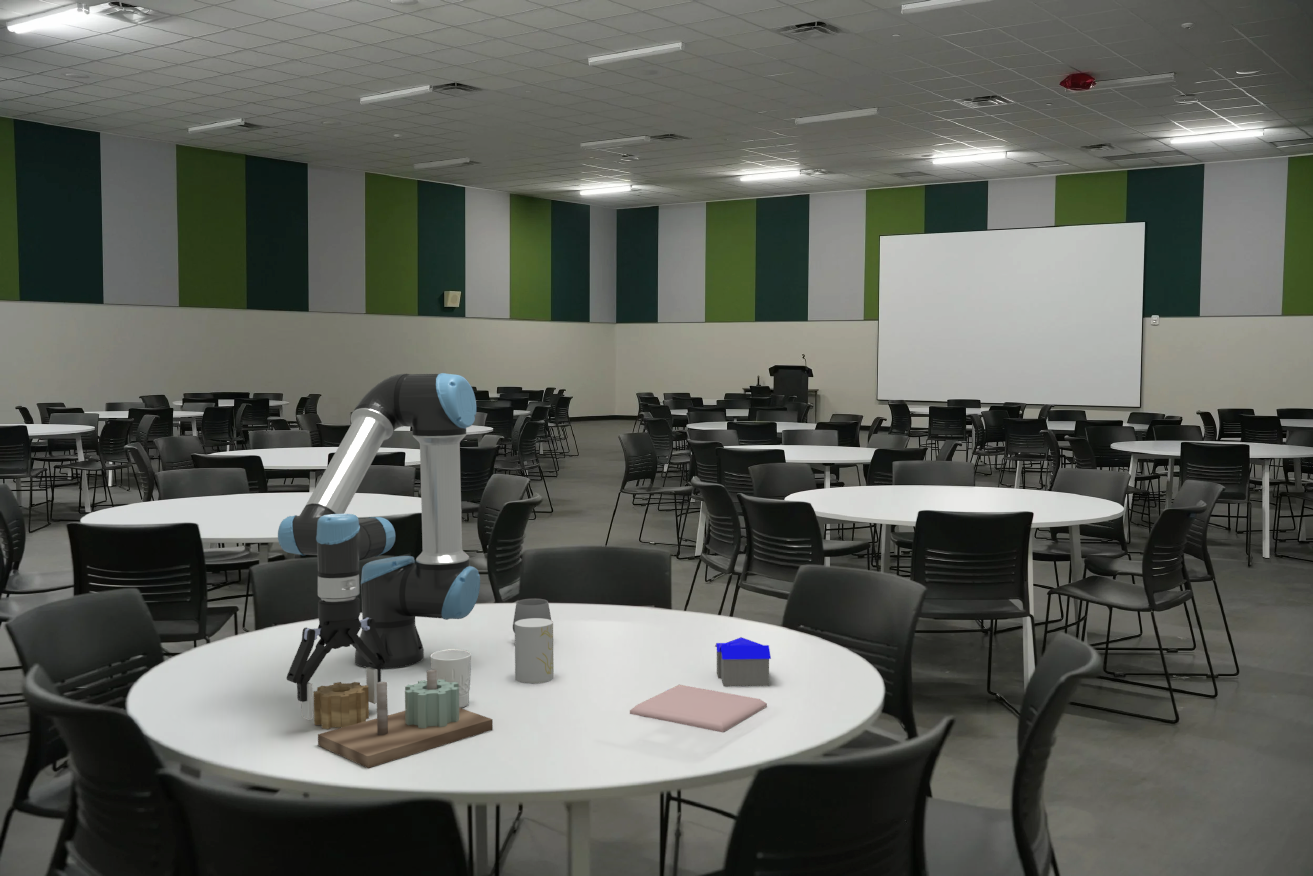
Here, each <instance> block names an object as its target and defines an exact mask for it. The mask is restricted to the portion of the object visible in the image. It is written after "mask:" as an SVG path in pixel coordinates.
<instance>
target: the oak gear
mask: <svg viewBox="0 0 1313 876" xmlns="http://www.w3.org/2000/svg"><path fill="white" fill-rule="evenodd" d="M369 703H370V702H369V696H368V686H367V685H366V684H365V685H361V682H359V681H352V682H347V683H346V682H344V683H343V682H341V681H337V682H333V684H329V685H321V686H318V687H316V691H313V723H314V726H321V729H322V730H323V729H325V730H330V729H333V728H336V729H339V728H343V727H347V726H350V725H354V724H358V723H361V722H365V721H367V720H368V719H370V709H369V708H370V707H369V706H370V705H369Z"/></svg>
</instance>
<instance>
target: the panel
mask: <svg viewBox="0 0 1313 876" xmlns="http://www.w3.org/2000/svg"><path fill="white" fill-rule="evenodd" d="M767 704H768V703H767V702H765V701H764V700H762V699H761V698H757V697H751V696H745V695H739V694H733V693H728V692H724V691H723V692H722V691H718V690H717V691H716V690H712V689H708V688H707V689H706V688H701V687H695V686H689V685H684V684H678V685H676V686H674V687H672V688H669V689H667V690H665V691H663V692H661V693H658V694H657V695H655V696H652V697H650V698H648V699H646V700H645V701H644V700H643V701H642V702H640V703H637V704H636V705H635V706H633V707H632V708H631V709H629V714H630V715H635V716H639V717H645V718H649V719H654V720H659V721H665V722H669V723H674V724H679V725H685V726H689V727H695V728H700V729H705V730H707V731H709V730H710V731H713V732H719V733H725V732H726V731H728V730H730V729H731V728H733V727H735V726H737V725H738V724H740V723H742V722H743V721H745V720H747V719H749V718H750V717H753V715H755V714H757V713H759V712H760V711H762V710H764V709H766V708H767V707H768V705H767Z"/></svg>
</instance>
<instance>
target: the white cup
mask: <svg viewBox="0 0 1313 876" xmlns="http://www.w3.org/2000/svg"><path fill="white" fill-rule="evenodd" d="M429 658H430V670H437V680H438V679H442V680H446V682H450V683H451V682H457V683H458V685H459V708H462V709H463V708H464V707H467V706H469V703H470V701H469V700H470V690H471V687H470V685H471V670H472V669H471V667H472V663H471V662H472V653H471V652H470V651H468V650H465V649H456V648H455V649H443V650H437V651H434V652H433V653H431V654H430V657H429Z"/></svg>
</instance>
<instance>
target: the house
mask: <svg viewBox="0 0 1313 876" xmlns="http://www.w3.org/2000/svg"><path fill="white" fill-rule="evenodd" d="M714 647H715V648H716V676H717V678H718V679H719V680H720V679H721V682H722V685H723V687H727V688H728V687H729V688H730V687H769V686H770V660H771V659H772V658H771V649H770V645H768V644H761V643H758V642H756V641H753V640H750V639H748V638H744V637H742V636H740V637H737V638H735V639H732V640H730V641H728V642H727V641H726V642H716V643H715V646H714Z"/></svg>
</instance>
